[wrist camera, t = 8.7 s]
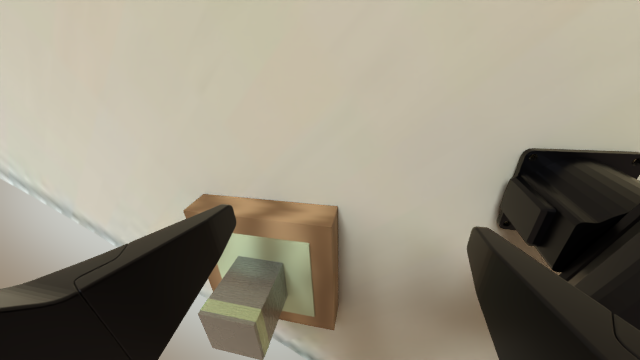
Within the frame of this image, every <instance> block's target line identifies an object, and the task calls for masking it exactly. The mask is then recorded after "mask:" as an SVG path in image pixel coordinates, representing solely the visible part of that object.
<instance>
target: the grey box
mask: <svg viewBox="0 0 640 360" xmlns="http://www.w3.org/2000/svg"><path fill="white" fill-rule="evenodd" d="M287 296H288V293H287V287H286V280H285V273H284V266H283V263H281V262H274V261H268V260H261V259H255V258H249V257H242V256H238V257H237V259H236V260H235V261H234V263H233V264H232V266H231V267H230V269H229V270H228V271H227V273H226V274H225V276H224V277H223V279H222V280H221V282H220V283H219V284H218V286H217V287H216V289H215V290H214V292H213V293H212V294H211V296H210V297H209V299H208V300H207V301H206V302H205V304H204V305H203V307H202V308H201V310H200V312H199V313H198V315H199V317H200V320H201V322H202V324H203V327H204V329H205V331H206V334H207V336H208V338H209V341H210V343H211V345H212V347H213V348H215V349H219V350H223V351H228V352H232V353H235V354H239V355H243V356H247V357H251V358H255V359H259V360H263V359H264V357H265V354H266V352H267V349H268V347H269V343H270V340H271V338H272V335H273V333H274V330H275V328H276V325H277V322H278V320H279V317H280V315H281V312H282V309H283V307H284V304H285V301H286V299H287Z"/></svg>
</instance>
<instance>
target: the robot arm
mask: <svg viewBox="0 0 640 360" xmlns="http://www.w3.org/2000/svg"><path fill="white" fill-rule="evenodd" d="M532 154H535V156H534V157H533V158H531V159H529V156H530V155H532ZM635 159H637V160H636V161H635V162H633V163H632V161H633V160H635ZM639 175H640V153H639V152H623V151H594V150H565V149H536V148H532V149H528V150H526V151H524V152H523V154H522V155H521V158H520V161H519V163H518V166H517V169H516V171H515V174H514V177H512V178H511V179H510V181H509V184H508V186H507V189H506V192H505V194H504V197H503V200H502V203H501V205H500V208H501V212H500V214H499V217H498V220H497V223H498V224H499V226H500V227H501V228H503V229H510V230H517V231H518V233H519V234H520V235H521V237H522V238H523V239H524V241H525V242H526V243H527V244H528V245H529V246H535V248H536V249H537V250H538V252H539V253H540V254H541V256H542V257H543V258H544V259H545V261H546V262H547V263H548V265H549V266H550V267H551V268H552V270H553V271H556V272H562V273H561V274H560V275H559V276H558V275H557V274H556V273H554V272H553V271H551V270H550V269H548V268H547V267H545V266H544V265H542V264H541V263H539V262H538V261H536V260H535V259H533V258H532V257H531V256H529V255H528V254H526V253H525V252H523V251H522V250H520V249H519V248H517V247H516V246H514V245H513V244H511V243H510V242H508V241H507V240H506V239H504V238H503V237H501V236H500V235H498V234H497V233H495V232H494V231H492V230H491V229H489V228H487V227H474V228H473V229H472V231H471V234H470V238H469V241H468V245H467V253H468V258H469V263H470V267H471V272H472V276H473V281H474V285H475V290H476V294H477V297H478V300H479V303H480V306H481V309H482V312H483V315H484V318H485V320H486V323H487V326H488V329H489V332H490V335H491V338H492V341H493V343H494V346H495V349H496V352H497V355H498V358H499V360H640V181H639V180H637V178H638V176H639ZM505 221H508V222H507V223H504V222H505ZM235 227H236V217H235V214H234V210H233V207H232V206H231V205H228V204H221V205H218V206H216V207H213V208H211V209H209V210H206V211H204V212H201V213H199V214H197V215H194V216H192V217H190V218H187V219H185V220H182V221H180V222H178V223H175V224H173V225H171V226H168V227H166V228H163V229H161V230H159V231H156V232H154V233H151V234H149V235H147V236H144V237H142V238H140V239H137V240H135V241H132V242H130V243H129V244H125V245H123V246H120V247H118V248H116V249H113V250H111V251H108V252H106V253H103V254H101V255H98V256H96V257H93V258H91V259H88V260H85V261H83V262H80V263H78V264H75V265H72V266H70V267H67V268H64V269H62V270H59V271H56V272H54V273H51V274H48V275H46V276H43V277H40V278H38V279H35V280H32V281H30V282H26V283H23V284H20V285H16V286H13V287H8V288H3V289H0V360H158V359H159V357H160V355H161V354H162V352H163V351H164V349H165V347H166V346H167V344H168V342H169V341H170V339H171V338H172V336H173V334H174V332H175V331H176V329H177V328H178V326H179V324H180V323H181V321H182V320H183V318H184V316H185V315H186V313H187V312H188V310H189V308H190V306H191V305H192V303H193V302H194V300H195V298H196V297H197V295H198V294H199V292H200V290H201V289H202V287H203V286H204V284H205V282H206V281H207V279H208V277H209V276H210V274H211V273H212V271H213V269H214V268H215V266H216V264H217V263H218V261H219V259H220V258H221V256H222V254H223V252H224V250H225V248H226V246H227V244H228V241H229V239H230V237H231V235H232V233H233V231H234V229H235Z"/></svg>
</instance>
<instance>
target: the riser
mask: <svg viewBox="0 0 640 360" xmlns="http://www.w3.org/2000/svg"><path fill="white" fill-rule="evenodd" d="M221 204H228V205H231V206H232V207H233V210H234V214H235V217H236V227H235V229H234V231H233V233H232V235H231V237H230V239H229V241H228V244H227V246H226V248H225V250H224V252H223V254H222V256H221V258H220V259H219V261H218V263H217V264H216V266H215V268H214V269H213V271H212V273H211V274H210V276H209V277H208V279H209V282H210V284H211V287H212V290H213V292H214V290H215V289H216V287H217V286H218V284H219V283H220V282H221V280H222V279H223V277H224V276H225V274H226V273H227V271H228V270H229V269H230V267H231V266H232V264H233V263H234V261H235V260H236V259H237V257H238V256H242V257H249V258H255V259H261V260H268V261H274V262H281V263H283V266H284V273H285V280H286V287H287V293H288V296H287V299H286V301H285V304H284V307H283V309H282V312H281V315H280V317H279V319H281V320H286V321H290V322H295V323H300V324H305V325H310V326H315V327H320V328H325V329H330V330H334V328H335V322H336V316H337V310H338V206H327V205H316V204H305V203H294V202H284V201H273V200H262V199H251V198H240V197H229V196H219V195H208V194H203V195H202V196H201V197H200V198H198V199H197V200H196V201H195V202H193V203H192V204H191V205H190V206H189V207H187V208H186V209H185V210H184V214H185V216H186V219H187V218H190V217H192V216H194V215H197V214H199V213H201V212H204V211H206V210H209V209H211V208H213V207H216V206H218V205H221Z"/></svg>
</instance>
